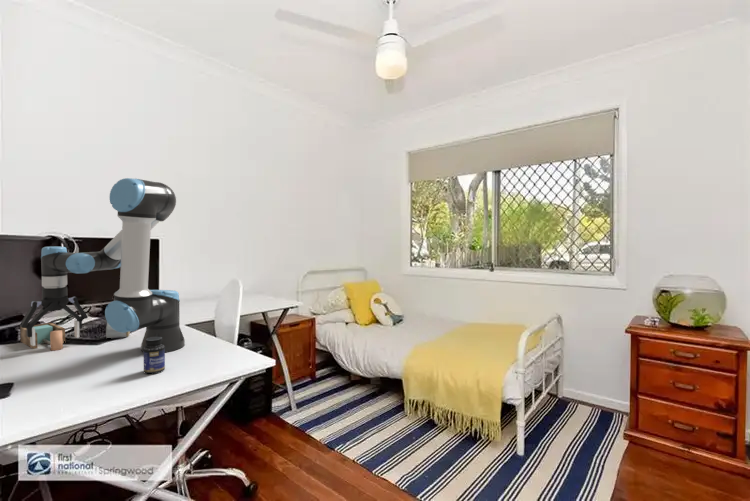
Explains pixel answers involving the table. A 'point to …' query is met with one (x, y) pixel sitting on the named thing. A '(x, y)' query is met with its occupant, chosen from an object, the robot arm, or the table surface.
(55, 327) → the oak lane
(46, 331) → the tethered block
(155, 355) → the pill bottle
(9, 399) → the table surface
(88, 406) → the table surface
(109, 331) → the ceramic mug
